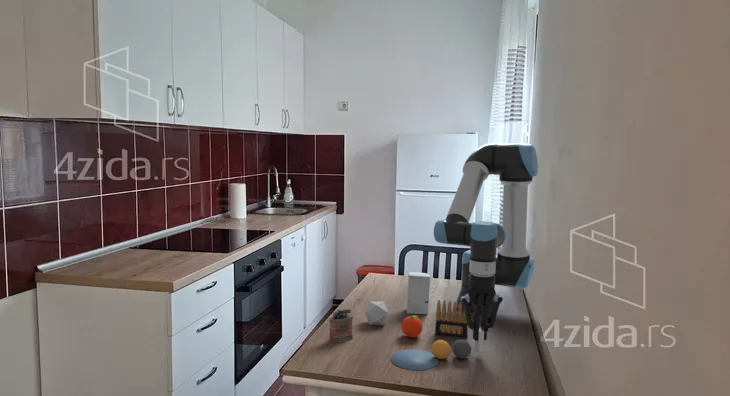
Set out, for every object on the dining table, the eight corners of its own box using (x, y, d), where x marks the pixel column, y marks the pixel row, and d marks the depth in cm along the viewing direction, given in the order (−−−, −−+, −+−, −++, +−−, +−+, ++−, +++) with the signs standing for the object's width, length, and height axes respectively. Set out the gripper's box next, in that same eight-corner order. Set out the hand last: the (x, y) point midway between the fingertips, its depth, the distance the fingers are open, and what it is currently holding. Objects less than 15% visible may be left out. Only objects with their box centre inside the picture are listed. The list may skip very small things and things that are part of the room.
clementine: (410, 330, 171) (411, 310, 170) (427, 335, 166) (428, 314, 165) (397, 337, 164) (397, 316, 164) (414, 342, 160) (415, 321, 159)
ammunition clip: (467, 336, 166) (468, 301, 164) (467, 338, 164) (468, 303, 163) (435, 333, 169) (436, 298, 167) (434, 334, 167) (435, 300, 166)
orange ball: (449, 351, 151) (444, 334, 151) (455, 358, 146) (450, 341, 145) (432, 357, 151) (427, 340, 150) (437, 364, 145) (432, 347, 145)
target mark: (430, 349, 155) (430, 348, 155) (444, 368, 141) (444, 368, 141) (386, 351, 153) (386, 350, 153) (396, 371, 139) (396, 370, 139)
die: (380, 331, 171) (394, 307, 173) (359, 318, 172) (373, 294, 174) (379, 331, 179) (393, 308, 181) (359, 318, 180) (373, 295, 182)
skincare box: (406, 313, 187) (407, 275, 186) (406, 308, 193) (407, 271, 192) (429, 314, 187) (430, 276, 185) (428, 309, 193) (429, 272, 191)
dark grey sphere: (455, 333, 150) (446, 349, 150) (462, 341, 145) (453, 357, 145) (469, 340, 152) (461, 356, 152) (477, 348, 147) (468, 364, 147)
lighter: (331, 343, 158) (332, 312, 157) (327, 339, 161) (327, 309, 160) (354, 339, 162) (354, 309, 161) (349, 335, 165) (350, 306, 164)
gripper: (465, 277, 143) (462, 356, 145) (508, 276, 145) (504, 354, 147) (457, 271, 150) (454, 346, 152) (497, 270, 152) (494, 344, 154)
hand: (479, 350), depth 150 cm, fingers closed
